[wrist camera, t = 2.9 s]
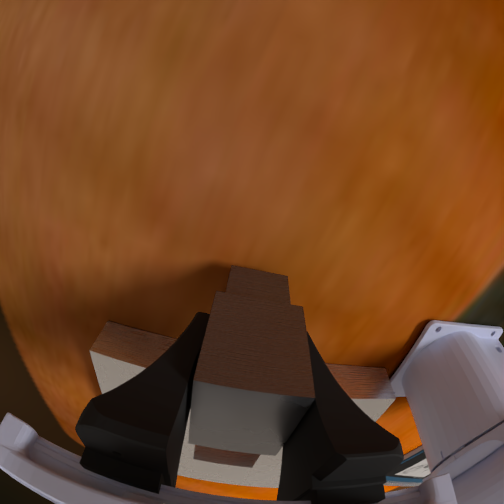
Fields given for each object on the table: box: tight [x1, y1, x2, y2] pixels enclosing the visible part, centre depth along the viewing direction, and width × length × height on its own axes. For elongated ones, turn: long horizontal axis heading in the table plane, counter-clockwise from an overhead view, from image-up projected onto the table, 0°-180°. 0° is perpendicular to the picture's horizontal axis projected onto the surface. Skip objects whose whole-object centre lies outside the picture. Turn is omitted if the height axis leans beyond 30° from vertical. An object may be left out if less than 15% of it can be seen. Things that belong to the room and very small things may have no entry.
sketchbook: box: [383, 445, 431, 486], centre depth 27 cm, size 22×30×2 cm
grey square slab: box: [90, 321, 396, 488], centre depth 21 cm, size 20×20×3 cm
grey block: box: [188, 265, 315, 456], centre depth 12 cm, size 4×4×8 cm
